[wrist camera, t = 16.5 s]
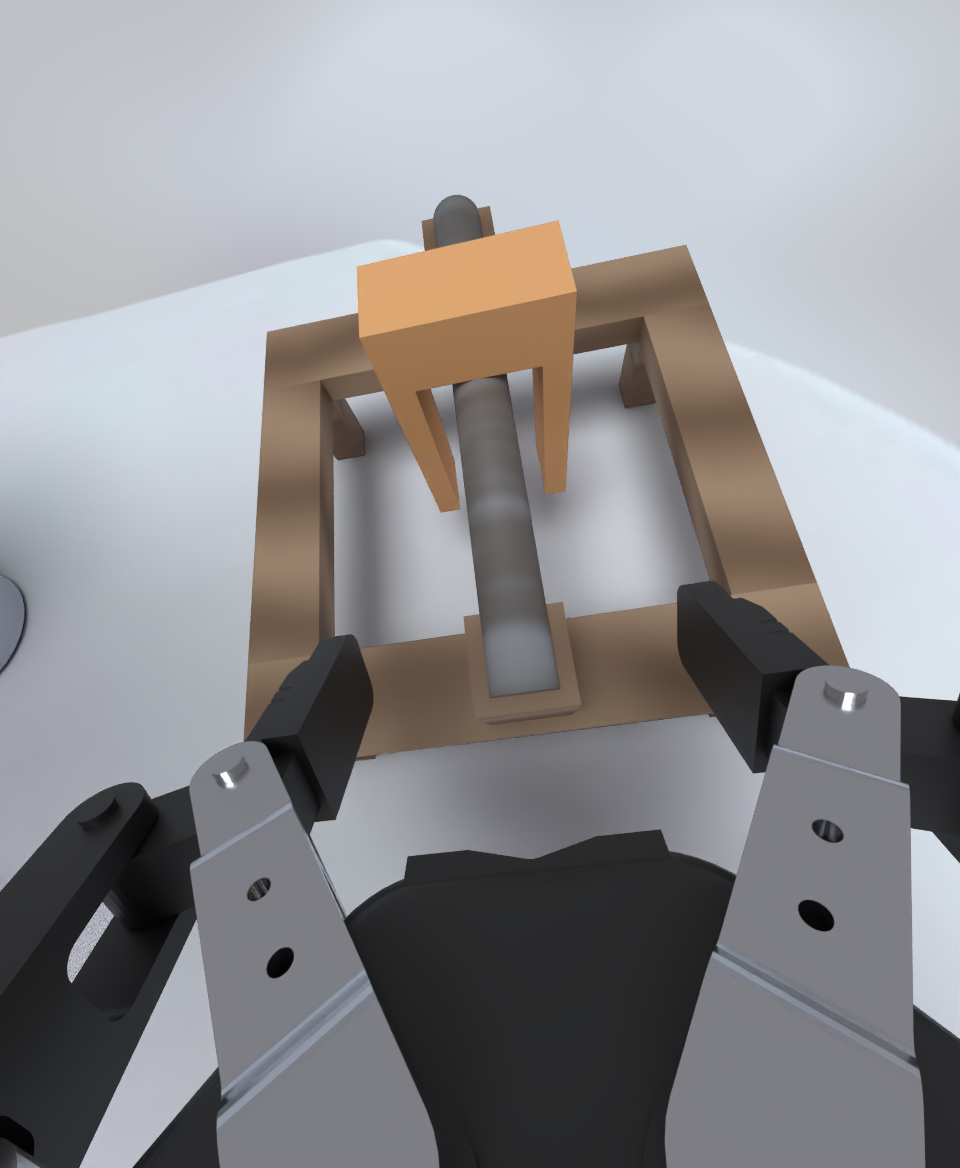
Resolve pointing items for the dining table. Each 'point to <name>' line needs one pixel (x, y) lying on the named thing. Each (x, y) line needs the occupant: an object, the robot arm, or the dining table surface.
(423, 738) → the wooden slider frame
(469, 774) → the dining table surface
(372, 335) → the orange two-legged bench
